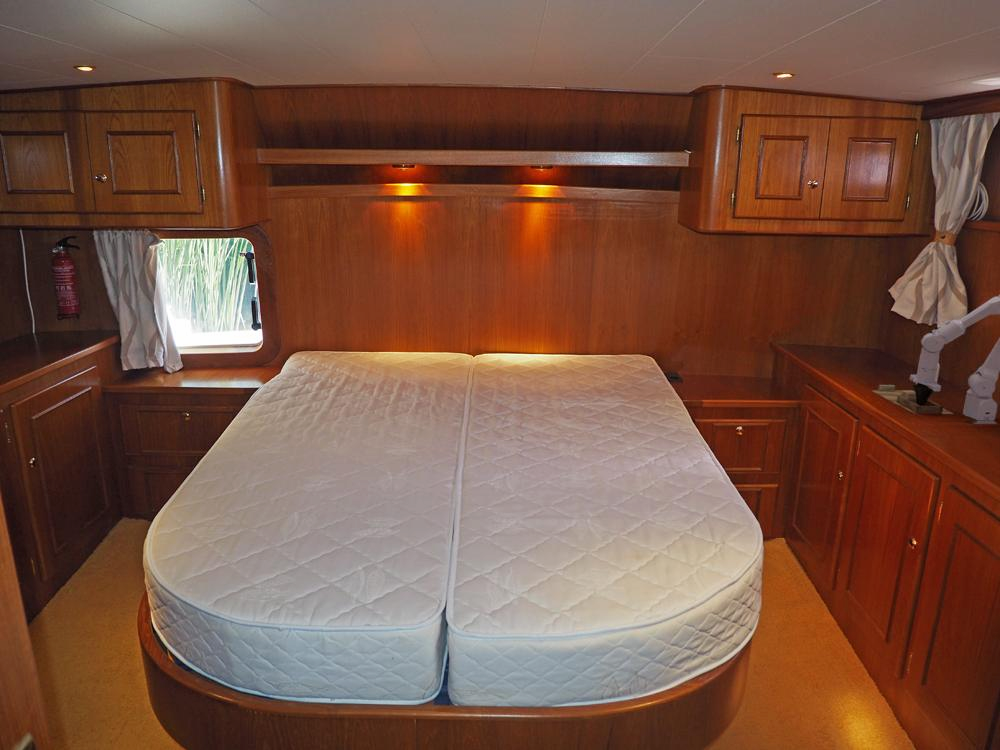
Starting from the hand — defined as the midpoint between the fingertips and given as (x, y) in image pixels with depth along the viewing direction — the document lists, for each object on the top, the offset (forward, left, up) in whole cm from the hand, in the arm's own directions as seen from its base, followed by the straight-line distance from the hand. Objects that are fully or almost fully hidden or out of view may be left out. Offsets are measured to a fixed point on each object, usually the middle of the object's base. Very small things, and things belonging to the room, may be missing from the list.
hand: (920, 405), depth 251 cm
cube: (+7, 0, -1) cm, 7 cm away
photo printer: (+26, -18, -3) cm, 32 cm away
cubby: (+1, 0, -1) cm, 2 cm away
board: (+9, -2, -3) cm, 10 cm away
